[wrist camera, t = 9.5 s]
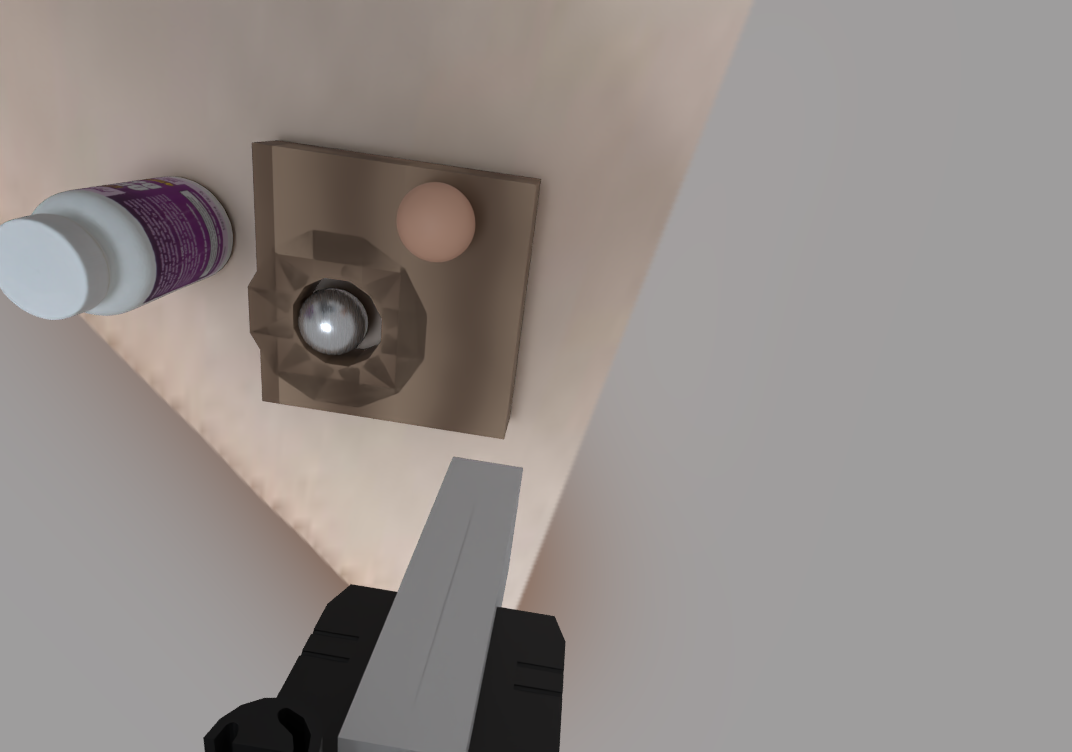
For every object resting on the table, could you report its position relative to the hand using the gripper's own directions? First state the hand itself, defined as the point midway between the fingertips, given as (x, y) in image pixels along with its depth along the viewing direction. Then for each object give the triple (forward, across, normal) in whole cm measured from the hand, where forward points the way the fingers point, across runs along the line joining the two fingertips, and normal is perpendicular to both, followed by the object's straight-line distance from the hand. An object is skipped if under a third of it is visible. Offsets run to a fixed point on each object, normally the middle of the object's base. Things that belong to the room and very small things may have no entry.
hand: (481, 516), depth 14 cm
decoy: (+16, -5, +3) cm, 17 cm away
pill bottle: (+21, -19, 0) cm, 28 cm away
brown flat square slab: (+20, -8, -2) cm, 22 cm away
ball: (+19, -10, -3) cm, 22 cm away
